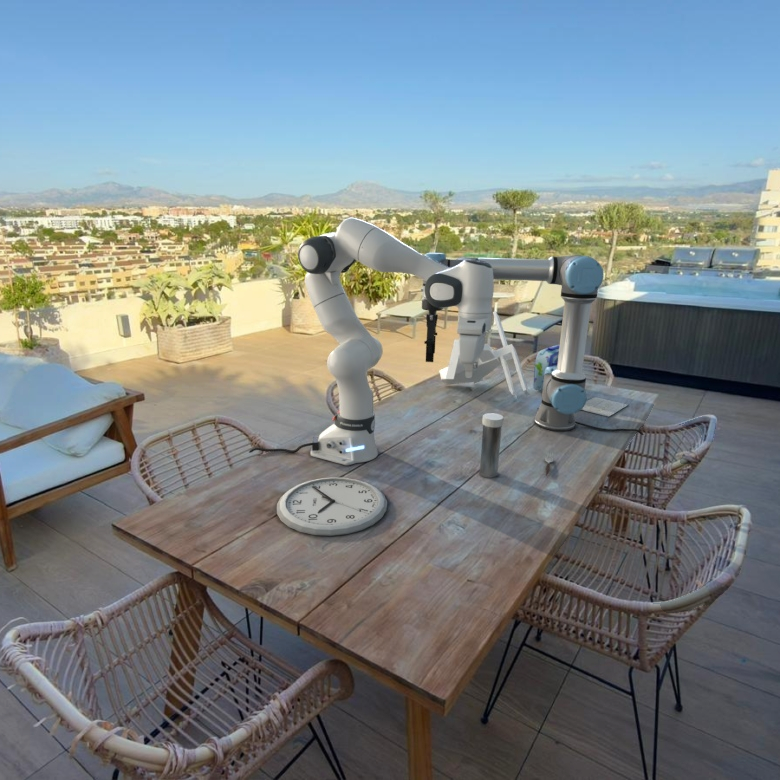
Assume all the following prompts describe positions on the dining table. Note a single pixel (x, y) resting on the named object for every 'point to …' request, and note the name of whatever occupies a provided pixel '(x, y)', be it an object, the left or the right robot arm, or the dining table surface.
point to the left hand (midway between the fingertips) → (471, 372)
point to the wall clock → (331, 506)
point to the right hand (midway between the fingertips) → (430, 357)
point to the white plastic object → (485, 363)
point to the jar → (490, 451)
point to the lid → (492, 420)
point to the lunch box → (544, 364)
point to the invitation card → (603, 406)
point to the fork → (548, 462)
